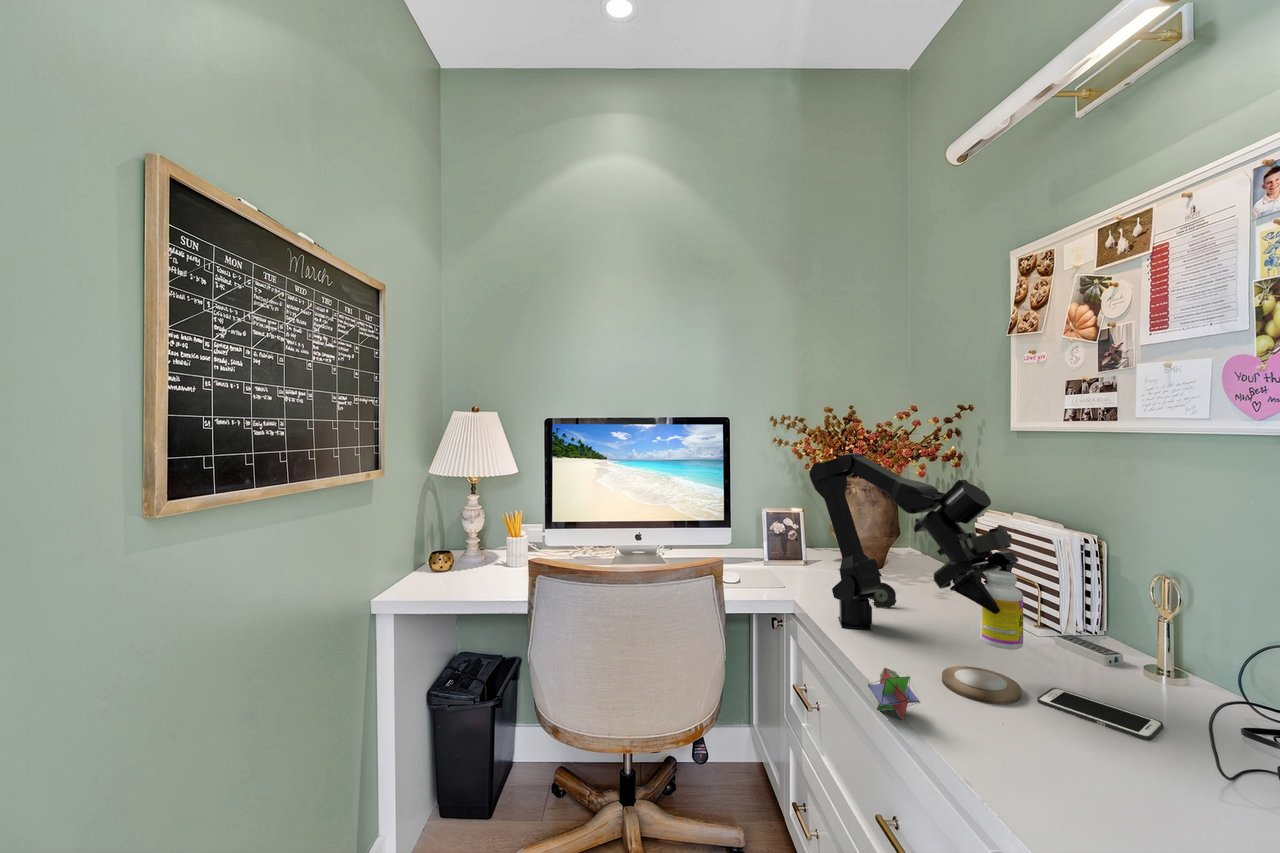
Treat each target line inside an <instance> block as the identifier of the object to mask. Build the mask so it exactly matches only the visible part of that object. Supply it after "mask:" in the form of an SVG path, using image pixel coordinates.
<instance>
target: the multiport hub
mask: <svg viewBox="0 0 1280 853" xmlns="http://www.w3.org/2000/svg"><path fill="white" fill-rule="evenodd" d="M1055 645H1056V646H1055ZM1054 646H1055V647H1058V648H1061V649H1063V650H1065V651H1068V652H1070V653H1072V654H1075V655H1077V656H1080V657H1082V658H1085V659H1087V660H1089V661H1090V662H1091V661H1092V662H1094V663H1096V664H1099V665H1101V666H1104V667H1113V666H1114V667H1115V666H1123V665H1124V654H1123V653H1121V652H1118V651H1116V650H1112V649H1110V648H1107V647H1105V646H1102V645H1099V644H1097V643H1094V642H1091V641H1089V640H1086V639H1083V638H1081V637H1078V636H1075V635H1073V634H1065V635H1064V634H1063V635H1055V636H1054Z"/></svg>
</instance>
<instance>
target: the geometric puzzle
mask: <svg viewBox="0 0 1280 853" xmlns="http://www.w3.org/2000/svg"><path fill="white" fill-rule="evenodd" d="M879 674H880V675H879V680H876V681H874V682H870V683H868V684H866V685H867V686H868V688H869V691H870V692H871V693H870V694H871V696H872V695H873V696H874V698H876V700H877V703H878V705H877V706H875V707H876V711H879V712H880V711H882V710H883V711H882V713H883V714H885V712H884V710H886V711H888V712H890V713H891V714H892V715H894V718H896V719H899V720H901V721H902V722H903V721H904V720H905V716H906V714H905V713H906V711H907V707H910V706H913V705H918V704H920V703H921V701H920V700H919V697H918V696H917V695H918V694H917V692H915V693H916V695H915V693H914V692H913V691H912V689H911V688H910V684H911V683H912V682H911V683H910V681H911V680H912V679H911V676H910V675H907V676H900V675H899V674H898V672H897V671H895V670H892V669H889V668H887V667H884V668H883V669H882V670H881V672H880V673H879ZM877 682H879V683H877ZM875 683H877V684H875ZM912 685H914V684H913V683H912ZM913 688H914V690H916V689H915V687H913ZM873 703H876V702H875V701H873ZM890 710H895V712H896V713H897V715H896V714H894V713H893V712H892V711H890ZM887 715H888V716H891V717H892V715H889V714H888V713H887Z"/></svg>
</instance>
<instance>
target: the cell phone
mask: <svg viewBox="0 0 1280 853" xmlns="http://www.w3.org/2000/svg"><path fill="white" fill-rule="evenodd" d="M1036 703H1038V704H1040V705H1042V706H1044V707H1048V708H1051V709H1053V708H1054V709H1053V710H1057V711H1060V712H1062V711H1063V712H1062V713H1065V714H1068V715H1070V714H1071V715H1070V716H1073V715H1074V717H1076V718H1079V719H1083V720H1085V721H1087V722H1091V723H1093V724H1097V725H1100V726H1103V727H1105V728H1107V727H1108V728H1109V729H1110V728H1111V729H1110V730H1114V731H1117V732H1120V733H1122V734H1125V735H1128V736H1131V737H1133V738H1137V739H1138V740H1139V739H1140V740H1143V741H1145V742H1146V741H1147V742H1151V741H1153V740H1155V738H1156V737H1157V736H1158V735H1159V734H1160V733H1161V732H1163V730H1164V728H1165V727H1164V726H1165V725H1164V723H1163V721H1160V720H1158V719H1155V718H1154V717H1153V718H1152V717H1149V716H1147V715H1143V714H1140V713H1137V712H1134V711H1131V710H1128V709H1124V708H1122V707H1118V706H1115V705H1112V704H1109V703H1106V702H1103V701H1099V700H1096V699H1093V698H1090V697H1087V696H1084V695H1081V694H1077V693H1075V692H1071V691H1069V690H1065V689H1062V688H1059V687H1051V688H1050V689H1049V690H1047V691H1046V692H1045V691H1044V693H1042V694H1041V695H1039V696H1038V697H1037V698H1036Z"/></svg>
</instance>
